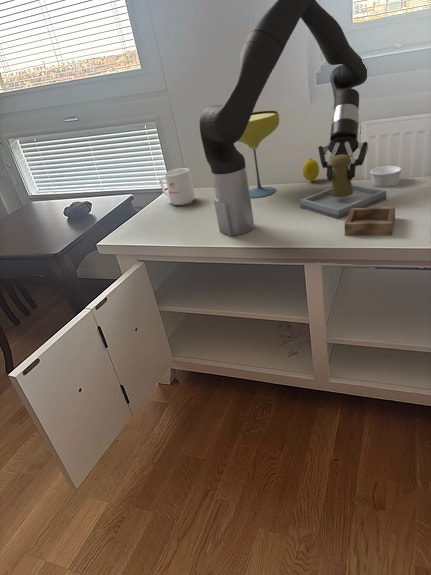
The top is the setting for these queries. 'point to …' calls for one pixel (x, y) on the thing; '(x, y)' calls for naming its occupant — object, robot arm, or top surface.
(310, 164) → the lemon
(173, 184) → the mug
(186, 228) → the top surface
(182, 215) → the top surface
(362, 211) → the walnut holder
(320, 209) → the grey tray
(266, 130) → the cocktail glass
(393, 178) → the ramekin
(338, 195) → the cork
